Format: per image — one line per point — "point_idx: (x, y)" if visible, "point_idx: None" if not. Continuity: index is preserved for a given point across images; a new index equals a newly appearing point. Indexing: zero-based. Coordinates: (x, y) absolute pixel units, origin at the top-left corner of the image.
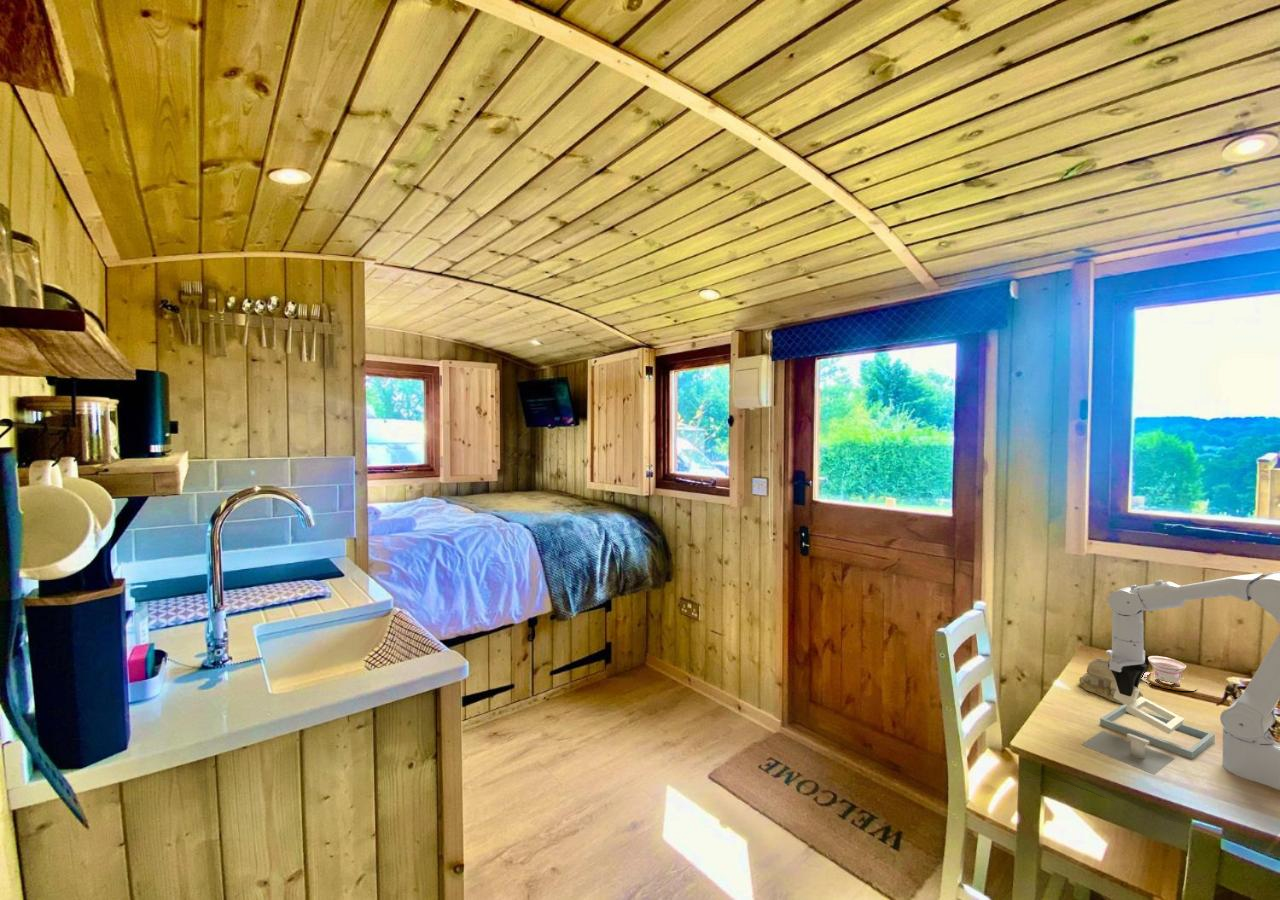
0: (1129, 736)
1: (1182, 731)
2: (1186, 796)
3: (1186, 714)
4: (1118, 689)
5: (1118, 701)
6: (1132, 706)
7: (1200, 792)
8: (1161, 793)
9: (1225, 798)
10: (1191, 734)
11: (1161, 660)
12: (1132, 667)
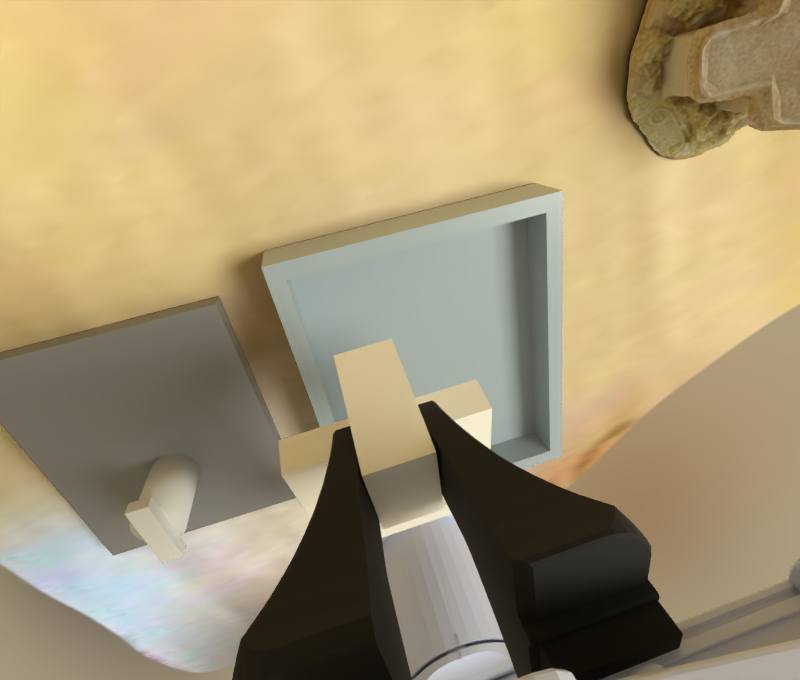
0: (129, 518)
1: (534, 379)
2: (138, 598)
3: (719, 274)
4: (332, 445)
5: (635, 94)
6: (307, 479)
7: (205, 586)
8: (66, 588)
9: (246, 603)
10: (535, 400)
11: None
12: (512, 639)
